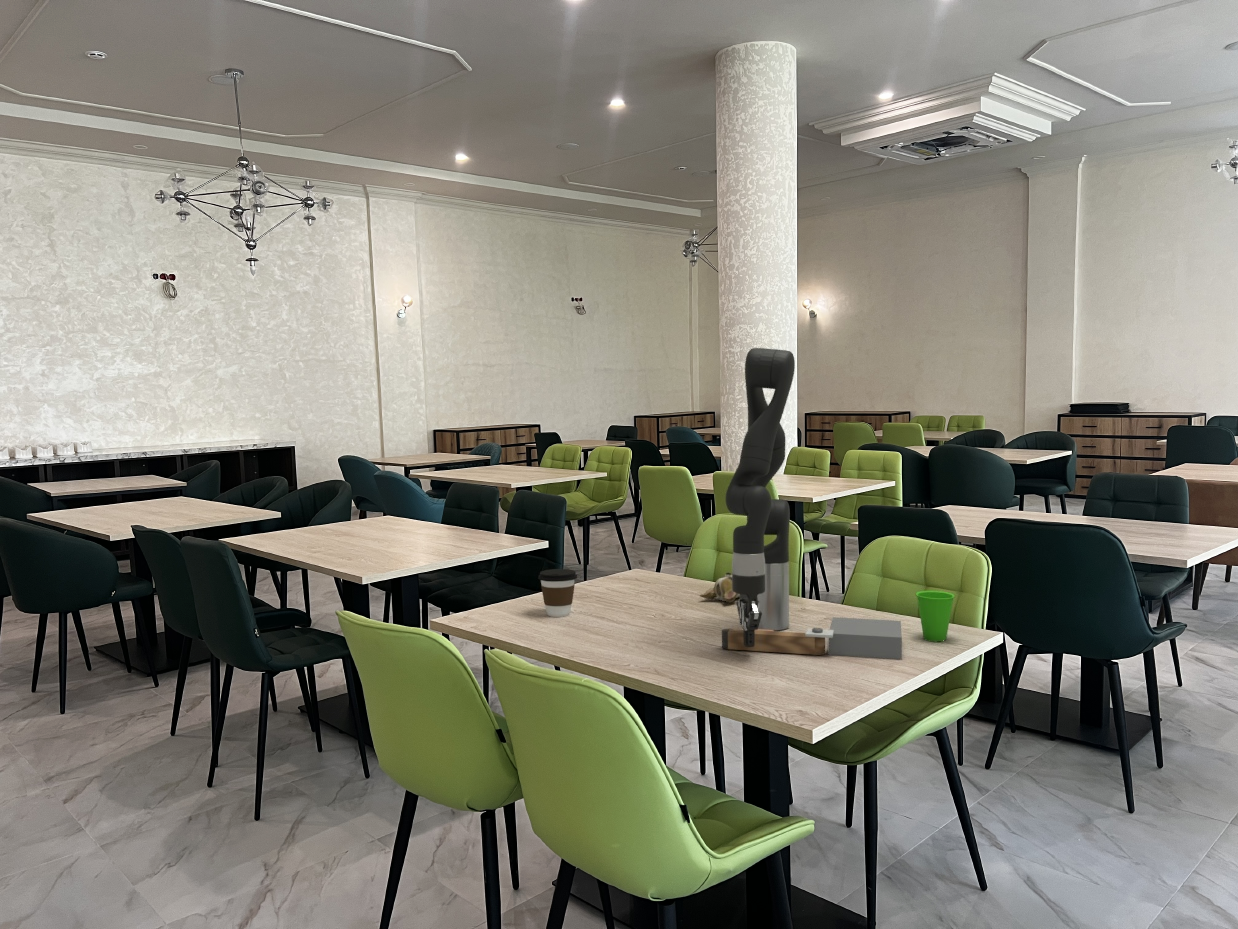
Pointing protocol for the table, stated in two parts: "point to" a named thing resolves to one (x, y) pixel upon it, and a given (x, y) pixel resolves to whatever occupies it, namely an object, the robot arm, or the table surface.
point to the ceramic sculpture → (722, 590)
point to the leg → (774, 642)
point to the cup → (935, 613)
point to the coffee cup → (558, 591)
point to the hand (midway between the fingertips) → (749, 646)
